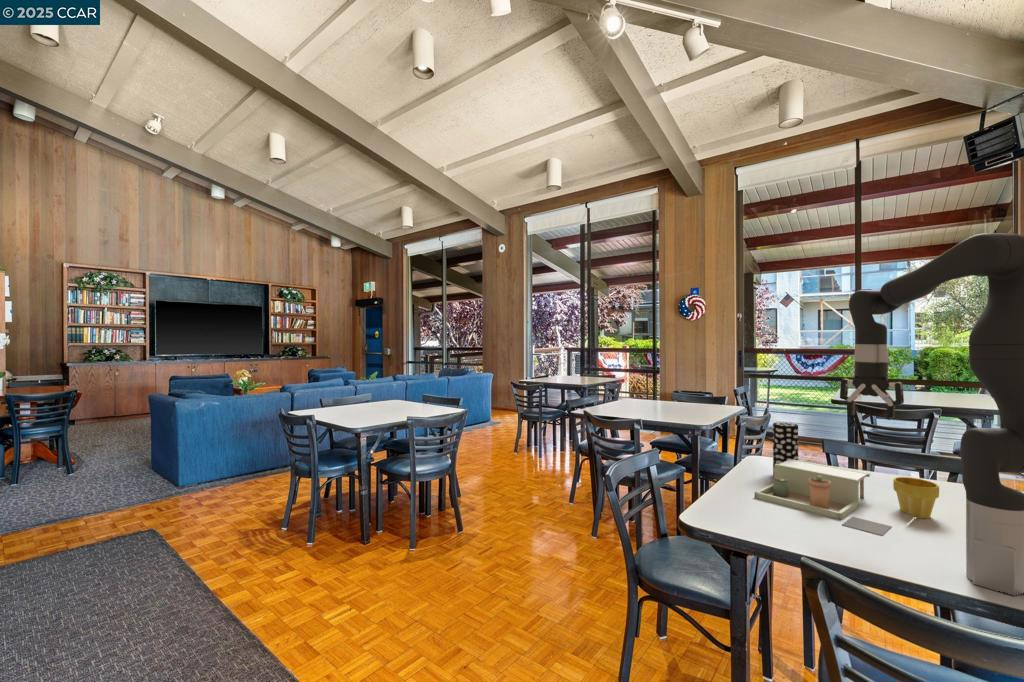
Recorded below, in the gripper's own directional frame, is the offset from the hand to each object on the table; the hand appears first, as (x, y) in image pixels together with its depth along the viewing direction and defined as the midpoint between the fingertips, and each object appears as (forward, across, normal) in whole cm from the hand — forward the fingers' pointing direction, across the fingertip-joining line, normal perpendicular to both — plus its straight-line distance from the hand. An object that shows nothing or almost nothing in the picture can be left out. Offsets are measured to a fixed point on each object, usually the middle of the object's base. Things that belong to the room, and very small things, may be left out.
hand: (870, 416), depth 131 cm
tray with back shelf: (+31, -17, +7) cm, 36 cm away
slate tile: (+30, +1, -6) cm, 31 cm away
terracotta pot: (+30, -13, 0) cm, 32 cm away
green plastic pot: (+30, -25, +2) cm, 39 cm away
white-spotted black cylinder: (+32, -34, +28) cm, 54 cm away
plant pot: (+31, +7, +18) cm, 36 cm away
